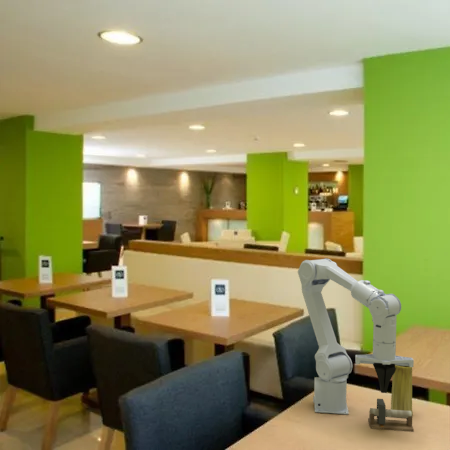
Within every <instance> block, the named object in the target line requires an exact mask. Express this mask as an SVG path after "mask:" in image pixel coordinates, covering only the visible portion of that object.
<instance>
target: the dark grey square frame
mask: <svg viewBox="0 0 450 450" xmlns="http://www.w3.org/2000/svg"><path fill="white" fill-rule="evenodd" d="M376 409H379V417H378V416H376V419H377V420H378V423H379V424H385V419H386V417H385V412H386V403H385V400H384V399H383V398H377V399H376Z"/></svg>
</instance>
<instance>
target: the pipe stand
mask: <svg viewBox="0 0 450 450" xmlns="http://www.w3.org/2000/svg"><path fill="white" fill-rule="evenodd" d="M390 409H391V408H390ZM390 409H386V412H385V424H379V423H378V420H377V418H375V417H377V416H378V417H379V409H377V408H374V407H373V408H371V407H370V408H369V412H368V413H369V417H368V418H367V420H368V424H369V428H370V429H374V430H375V429H376V430H388V431H389V430H390V431H402V432H403V431H404V432H414V427H413V415H412V412H413V411H412V412H411V411H405V410H390ZM386 418H396V419H397V420H396V419H386ZM398 419H401V420H398ZM402 419H406V420H402Z"/></svg>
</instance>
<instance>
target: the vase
mask: <svg viewBox="0 0 450 450" xmlns="http://www.w3.org/2000/svg"><path fill="white" fill-rule="evenodd" d="M395 368H396V371H395V373H394V374H393V376H392V379H391V381H392V382H391V383H392V384H391V385H392V387H391V397H390V410H405V411H411V412H412V416H413V413H414V412H413V367H409V366H400V365H395Z"/></svg>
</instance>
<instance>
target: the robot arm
mask: <svg viewBox="0 0 450 450" xmlns="http://www.w3.org/2000/svg"><path fill="white" fill-rule="evenodd" d="M297 274H298V277H299V280H300V285H301V293H302V295H303V299H304V302H305V307H306V309H307V312H308V315H309V318H310V322H311V325H312V326H311V327H312V328H313V332H314V336H315V337H316V338H315V339H316V341H317V345H318V350H317V351H316V353H315V354H314V359H315V371H316V373H317V376H318V377H317V376H316V377H315V376H314V386H313V388H314V394H313V396H312V397H313V398H312V400H313V401H312V402H313V404H314V412H315V413H323V414H337V415H349V408H348V404H347V384H348V383H347V379H349V374H351V373H352V370H353V362H352V359H351V357H350V356H349V355H348V353H347V350H346V348H345V347H343V346H342V345H341V344H339V343H338V342H337V337H336V334H335V332H334V329H333V326H332V323H331V319H330V316H329V313H328V309H327V307H326V304H325V303H326V302H325V301H324V298H323V297H324V296H323V293H322V292H323V289H324V287H325V286H326V285H327V284H328V283H329V282H330V280H331V281H333V282H334V283H336V284H338V286H339V285H340V286H341V287H342V288H344V289H346V290H347V291H350V295H351V297H352V298H353V299H354V300H356V301H357V302H359V303H360V304H361V305H363V306H364V307H366V308H367V309H368V310H369V313H370V314H371V318H372V319H371V320H372V322H373V329H372V330H373V331H372V332H373V333H372V334H373V337H372V353H371V354H369V353H368V354H367V353H366V354H354V355H355V356H354V357H355V361H354V362H355V364H356V365H360V364H364V365H365V364H367V365H372V366H373V368H374V371H375V374H376V376H377V380H378V384H379V391H380V393H381V394H387V393H388V388H389V385H390V383H391V381H392V379H393V374H394V373H395V371H396V368H395V365H400V366H409V367H412V368H414V364H415V363H414V358H413V357H409V356H401V355H397V354H396V352H397V351H396V349H397V347H396V346H397V315H399V314H400V312H401V311H402V303H401V300H400V299H399V297H398V296H396V295H395V294H394V293H385V290H383V289H379V288H377V287H375V286H374V285H373V284H371V281H370V280H365V279H364V280H363V279H360V280H357V279H356V278H354V277H353V276H352V275H350V274H349V273H347V271H345V270H344V269H342V268H341V267H339V266H338V263H337V262H335V261H332V259H330V258H326V257H325V258H321V259H312V260H311V259H310V260H309V259H305V260H303V261H302V262H301V263H300V265H299V268H298V270H297Z"/></svg>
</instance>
